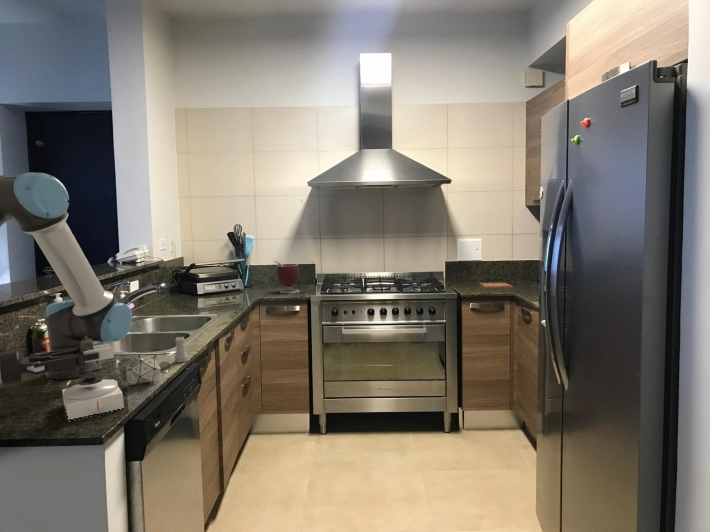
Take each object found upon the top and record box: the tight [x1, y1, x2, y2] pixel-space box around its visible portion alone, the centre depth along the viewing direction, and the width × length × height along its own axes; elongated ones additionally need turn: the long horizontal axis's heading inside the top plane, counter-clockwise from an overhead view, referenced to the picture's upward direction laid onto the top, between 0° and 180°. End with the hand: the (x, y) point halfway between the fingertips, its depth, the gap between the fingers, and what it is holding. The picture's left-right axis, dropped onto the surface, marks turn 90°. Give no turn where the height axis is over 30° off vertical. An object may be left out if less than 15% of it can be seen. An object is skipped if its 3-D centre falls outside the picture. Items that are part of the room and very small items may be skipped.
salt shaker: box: [76, 335, 103, 385], centre depth 122 cm, size 6×6×12 cm
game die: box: [126, 354, 165, 386], centre depth 140 cm, size 9×8×10 cm
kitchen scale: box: [62, 378, 125, 421], centre depth 123 cm, size 14×12×5 cm
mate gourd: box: [274, 260, 301, 294], centre depth 306 cm, size 16×14×20 cm
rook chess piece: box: [174, 336, 189, 364], centre depth 161 cm, size 4×4×8 cm
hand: (111, 350), depth 125 cm, fingers closed on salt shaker, 3 cm apart
